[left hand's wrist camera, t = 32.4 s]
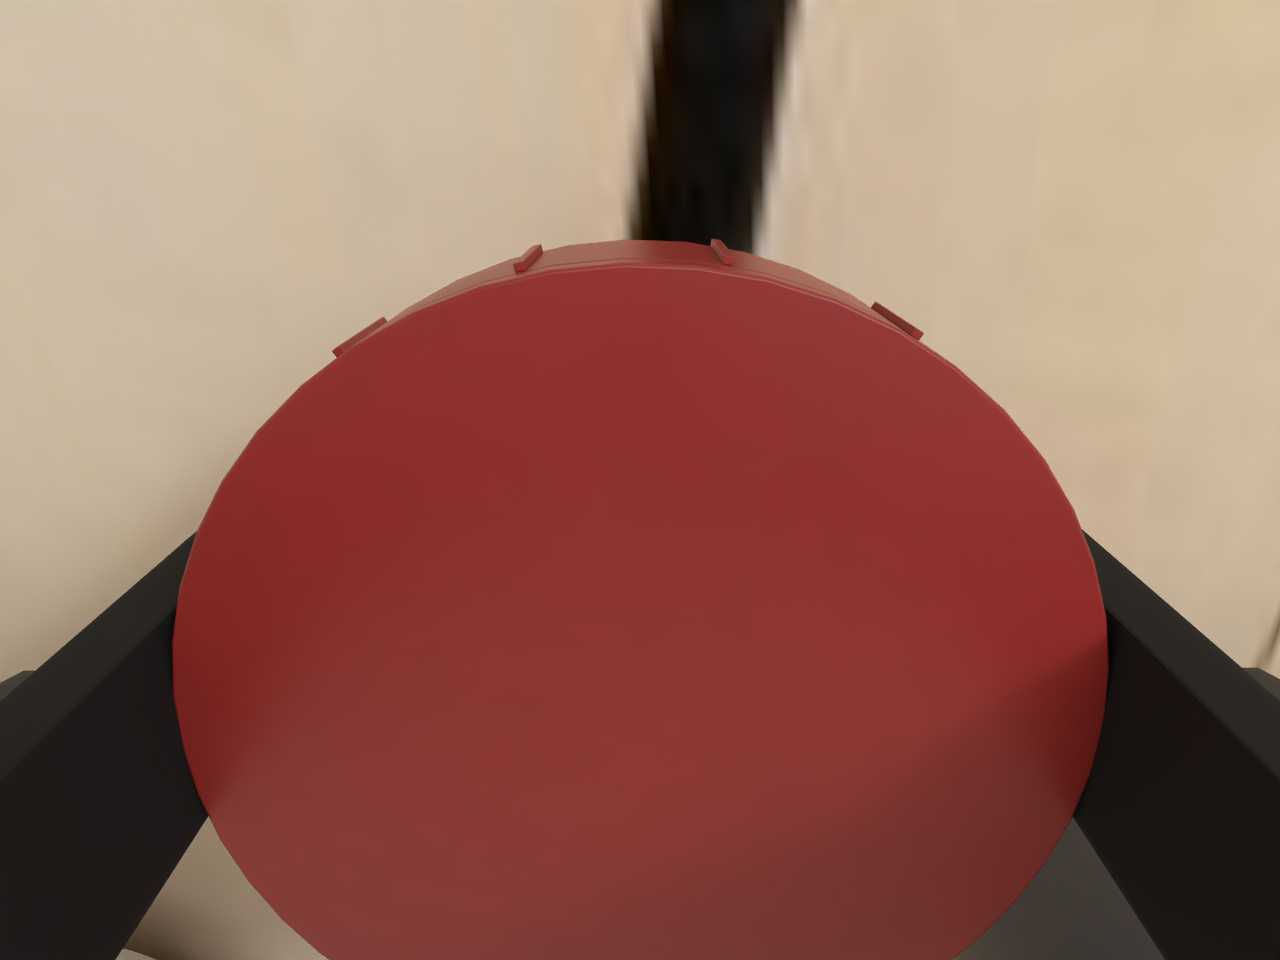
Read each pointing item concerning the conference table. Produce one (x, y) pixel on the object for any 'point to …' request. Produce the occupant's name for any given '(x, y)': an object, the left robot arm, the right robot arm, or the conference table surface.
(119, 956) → the projector
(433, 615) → the lid
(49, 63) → the conference table surface
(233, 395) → the conference table surface
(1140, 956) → the jar
